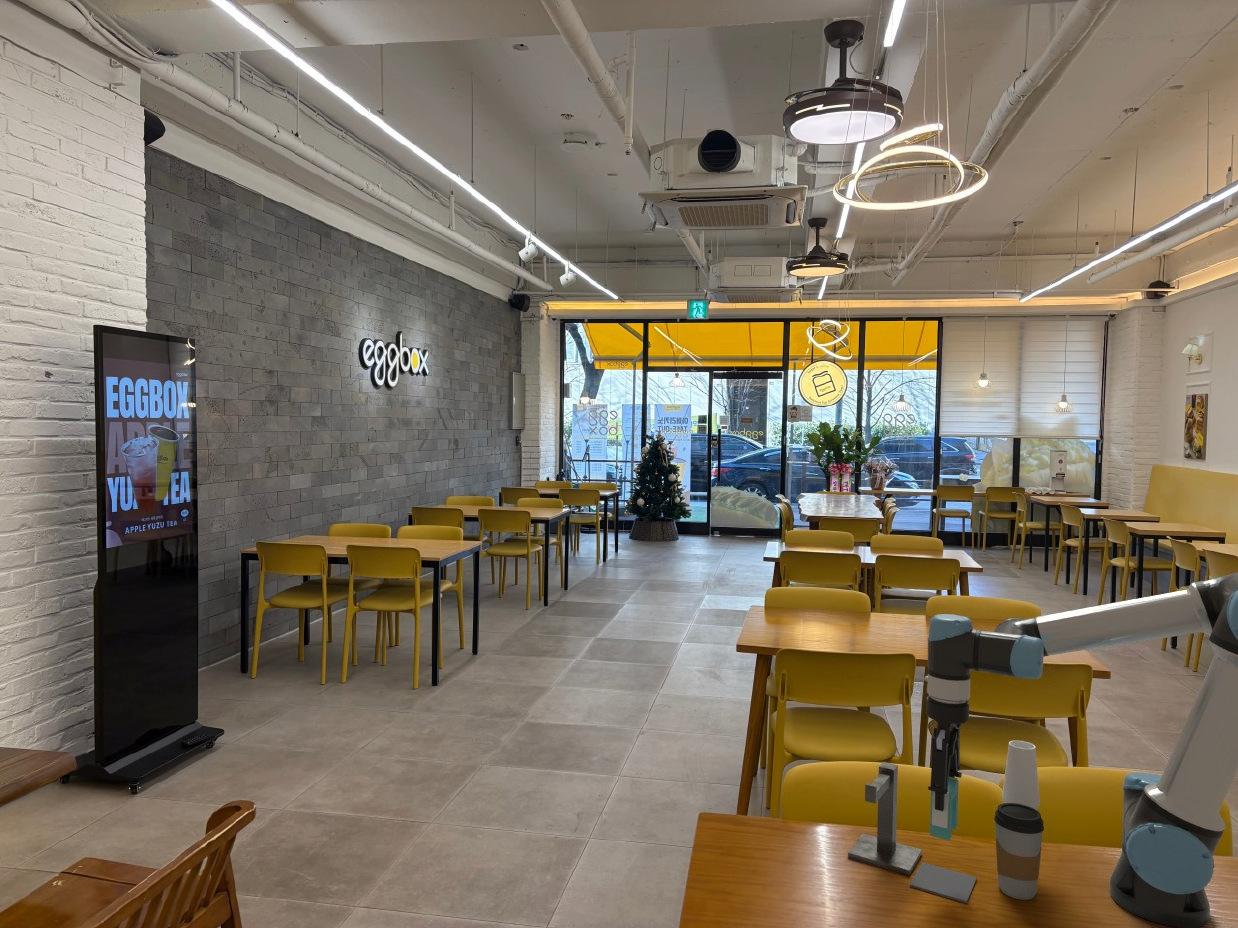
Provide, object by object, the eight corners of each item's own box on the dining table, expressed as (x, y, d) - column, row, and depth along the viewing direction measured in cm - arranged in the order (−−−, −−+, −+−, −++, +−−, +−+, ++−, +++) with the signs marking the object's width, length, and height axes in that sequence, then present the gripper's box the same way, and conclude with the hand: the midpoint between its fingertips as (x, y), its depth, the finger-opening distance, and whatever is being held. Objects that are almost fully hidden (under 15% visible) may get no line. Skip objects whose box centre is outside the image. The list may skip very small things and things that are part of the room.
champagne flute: (1029, 877, 156) (1032, 753, 155) (994, 863, 161) (997, 743, 160) (1043, 865, 160) (1046, 745, 160) (1009, 852, 165) (1012, 736, 165)
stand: (921, 854, 164) (923, 765, 163) (900, 890, 150) (903, 793, 150) (862, 837, 170) (864, 752, 170) (837, 871, 157) (839, 778, 156)
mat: (976, 879, 154) (976, 877, 154) (966, 903, 146) (966, 901, 146) (922, 863, 160) (922, 861, 160) (909, 886, 152) (909, 884, 152)
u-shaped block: (938, 821, 157) (939, 775, 157) (957, 826, 155) (958, 779, 155) (929, 835, 151) (931, 787, 151) (949, 840, 149) (951, 792, 149)
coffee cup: (1048, 906, 146) (1050, 823, 145) (998, 900, 147) (1001, 818, 147) (1034, 882, 154) (1036, 804, 154) (987, 876, 155) (989, 799, 155)
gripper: (938, 681, 163) (935, 794, 163) (914, 707, 146) (910, 832, 147) (978, 688, 159) (974, 804, 159) (958, 715, 142) (954, 844, 142)
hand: (944, 817), depth 153 cm, fingers closed on u-shaped block, 7 cm apart
